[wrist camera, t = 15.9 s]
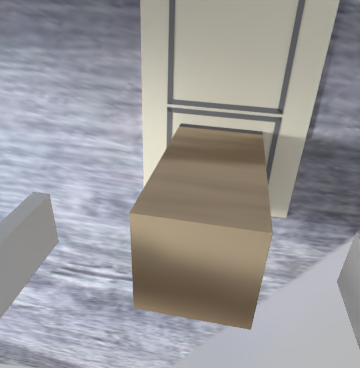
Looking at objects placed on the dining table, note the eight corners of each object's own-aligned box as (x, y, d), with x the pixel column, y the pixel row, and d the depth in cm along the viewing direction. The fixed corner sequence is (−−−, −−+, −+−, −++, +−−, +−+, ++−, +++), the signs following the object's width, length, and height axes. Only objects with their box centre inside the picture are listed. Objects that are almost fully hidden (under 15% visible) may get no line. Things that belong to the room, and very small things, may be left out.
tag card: (145, 196, 24) (143, 199, 23) (141, -33, 17) (139, -34, 16) (285, 215, 22) (286, 218, 22) (344, -27, 15) (347, -28, 15)
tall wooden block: (180, 123, 20) (129, 212, 12) (262, 131, 19) (272, 233, 11) (177, 192, 23) (133, 308, 14) (250, 201, 22) (250, 329, 13)
